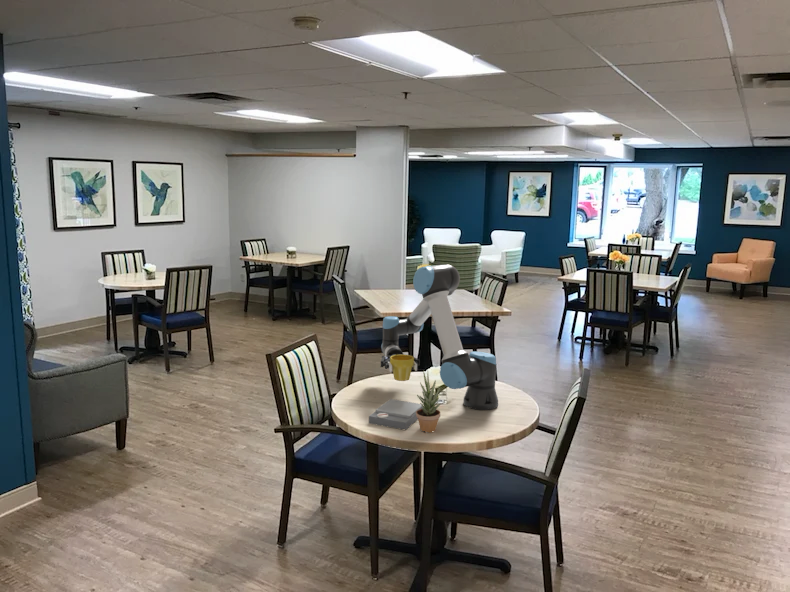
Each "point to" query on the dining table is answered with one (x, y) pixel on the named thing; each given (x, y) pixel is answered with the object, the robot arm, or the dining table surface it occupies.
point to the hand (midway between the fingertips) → (403, 368)
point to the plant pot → (401, 366)
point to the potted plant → (428, 407)
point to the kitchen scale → (395, 414)
